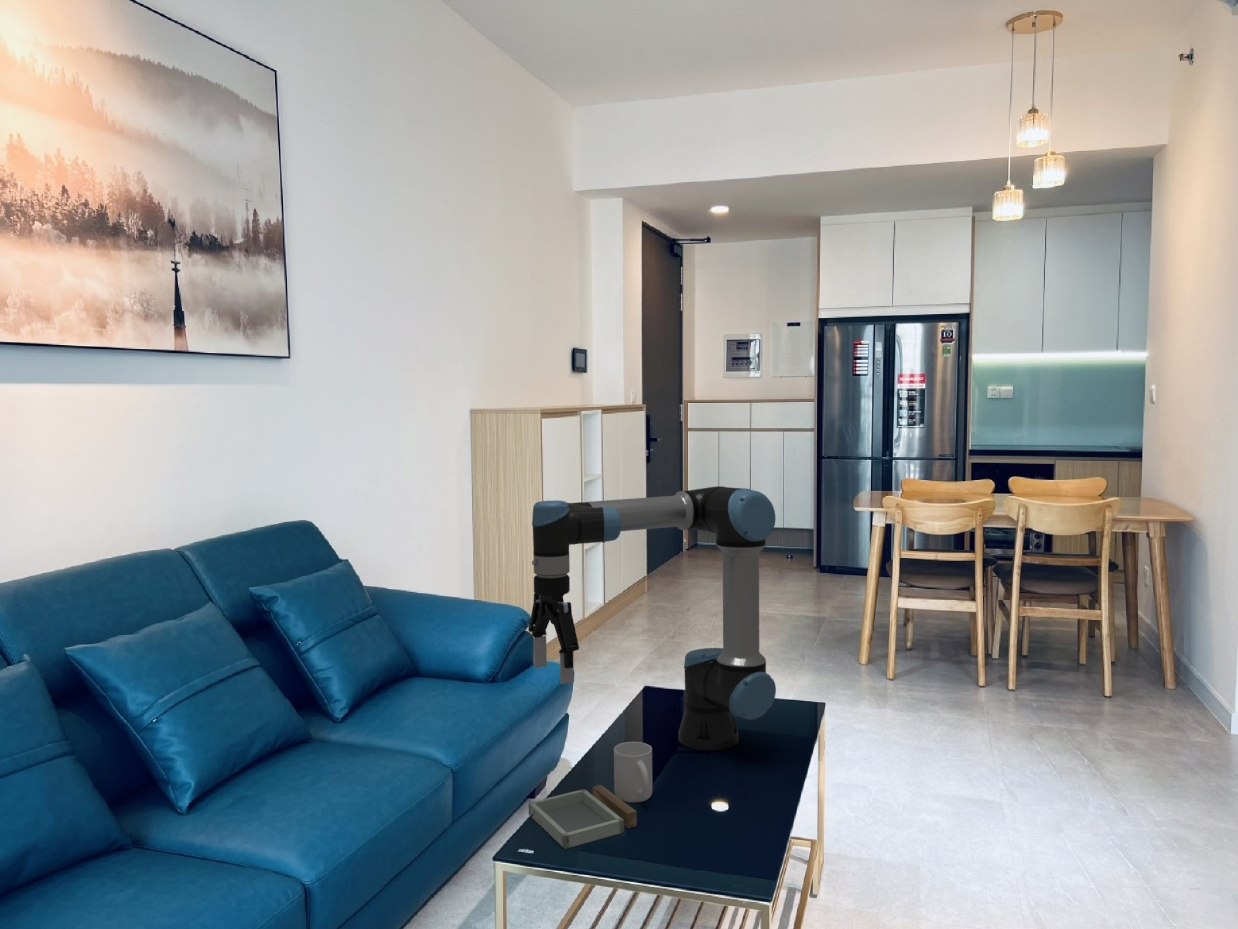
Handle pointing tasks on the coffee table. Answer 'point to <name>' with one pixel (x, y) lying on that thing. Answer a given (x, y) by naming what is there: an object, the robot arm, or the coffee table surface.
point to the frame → (576, 818)
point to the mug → (633, 771)
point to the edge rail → (616, 805)
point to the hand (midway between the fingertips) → (553, 674)
